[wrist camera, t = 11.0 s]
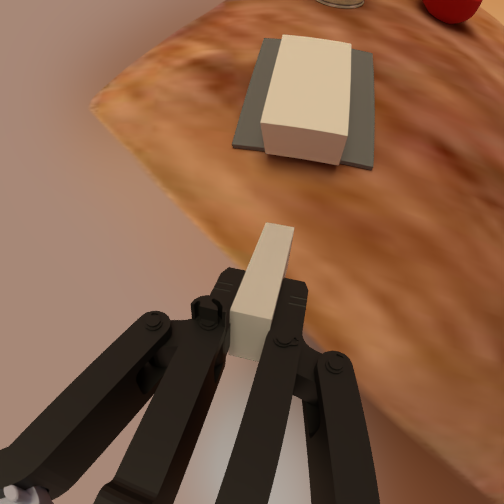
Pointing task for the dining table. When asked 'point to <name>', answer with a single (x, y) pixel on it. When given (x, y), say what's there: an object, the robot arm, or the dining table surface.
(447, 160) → the dining table surface
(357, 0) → the coffee can
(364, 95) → the charcoal mat
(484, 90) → the dining table surface
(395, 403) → the dining table surface
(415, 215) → the dining table surface
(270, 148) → the cream block
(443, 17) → the ceramic cup
